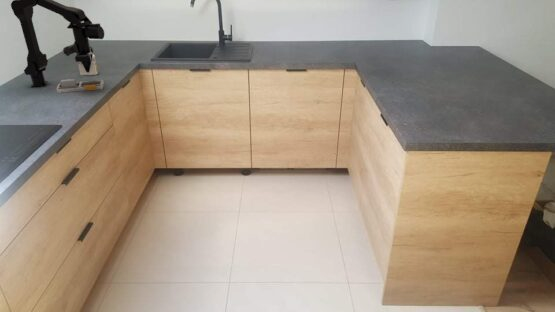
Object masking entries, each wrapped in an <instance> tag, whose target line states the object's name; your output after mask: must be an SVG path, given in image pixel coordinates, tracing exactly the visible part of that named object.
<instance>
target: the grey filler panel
mask: <svg viewBox="0 0 555 312" xmlns="http://www.w3.org/2000/svg"><path fill="white" fill-rule="evenodd" d="M76 82H77V81H76V79H75V78H72V79H71V78H70V79H61V80H60V83H61V85H62V87H73V86H77V85H76Z"/></svg>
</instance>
